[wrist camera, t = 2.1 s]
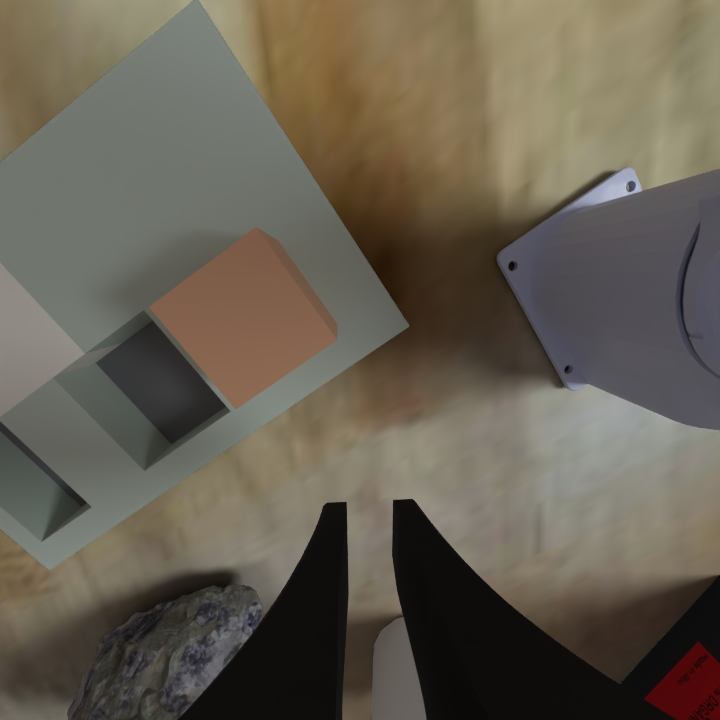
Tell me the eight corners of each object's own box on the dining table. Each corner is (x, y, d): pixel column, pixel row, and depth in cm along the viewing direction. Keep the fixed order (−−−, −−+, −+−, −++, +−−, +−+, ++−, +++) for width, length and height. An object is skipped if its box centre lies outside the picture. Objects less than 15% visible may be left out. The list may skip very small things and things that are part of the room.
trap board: (399, 318, 19) (409, 326, 16) (90, 529, 21) (49, 570, 18) (223, 50, 15) (196, -3, 13) (-125, 333, 18) (-218, 344, 15)
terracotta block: (337, 324, 16) (337, 339, 12) (260, 377, 16) (235, 409, 12) (278, 240, 15) (256, 226, 11) (198, 299, 15) (148, 307, 11)
